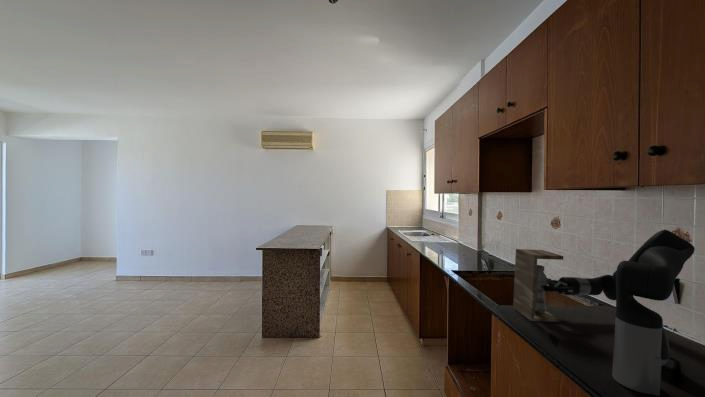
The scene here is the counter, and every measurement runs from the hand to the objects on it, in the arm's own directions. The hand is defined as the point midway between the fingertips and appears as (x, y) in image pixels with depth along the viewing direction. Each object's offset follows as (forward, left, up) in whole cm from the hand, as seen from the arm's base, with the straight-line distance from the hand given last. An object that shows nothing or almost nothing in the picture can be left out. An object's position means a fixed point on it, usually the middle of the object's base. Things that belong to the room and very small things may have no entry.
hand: (537, 285), depth 127 cm
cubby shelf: (0, 0, -13) cm, 13 cm away
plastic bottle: (0, 0, -12) cm, 12 cm away
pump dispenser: (-33, +17, -13) cm, 39 cm away
